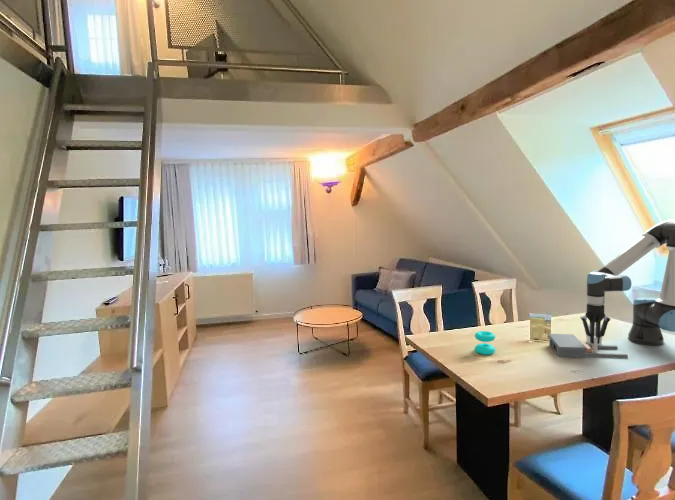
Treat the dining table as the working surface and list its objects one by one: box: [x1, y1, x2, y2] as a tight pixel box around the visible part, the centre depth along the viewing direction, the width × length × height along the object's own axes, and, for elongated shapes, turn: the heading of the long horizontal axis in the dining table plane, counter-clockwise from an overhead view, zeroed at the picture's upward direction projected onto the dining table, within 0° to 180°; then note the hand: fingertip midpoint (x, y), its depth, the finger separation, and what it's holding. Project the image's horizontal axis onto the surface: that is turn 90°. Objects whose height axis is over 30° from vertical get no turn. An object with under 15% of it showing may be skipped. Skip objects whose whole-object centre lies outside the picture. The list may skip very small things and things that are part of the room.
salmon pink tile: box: [581, 342, 593, 353], centre depth 209 cm, size 14×8×3 cm, turn 77°
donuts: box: [474, 330, 496, 356], centre depth 214 cm, size 10×10×10 cm
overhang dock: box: [548, 333, 629, 359], centre depth 207 cm, size 31×20×6 cm, turn 77°
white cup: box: [585, 322, 603, 345], centre depth 218 cm, size 8×8×10 cm
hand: (594, 349), depth 207 cm, fingers closed
